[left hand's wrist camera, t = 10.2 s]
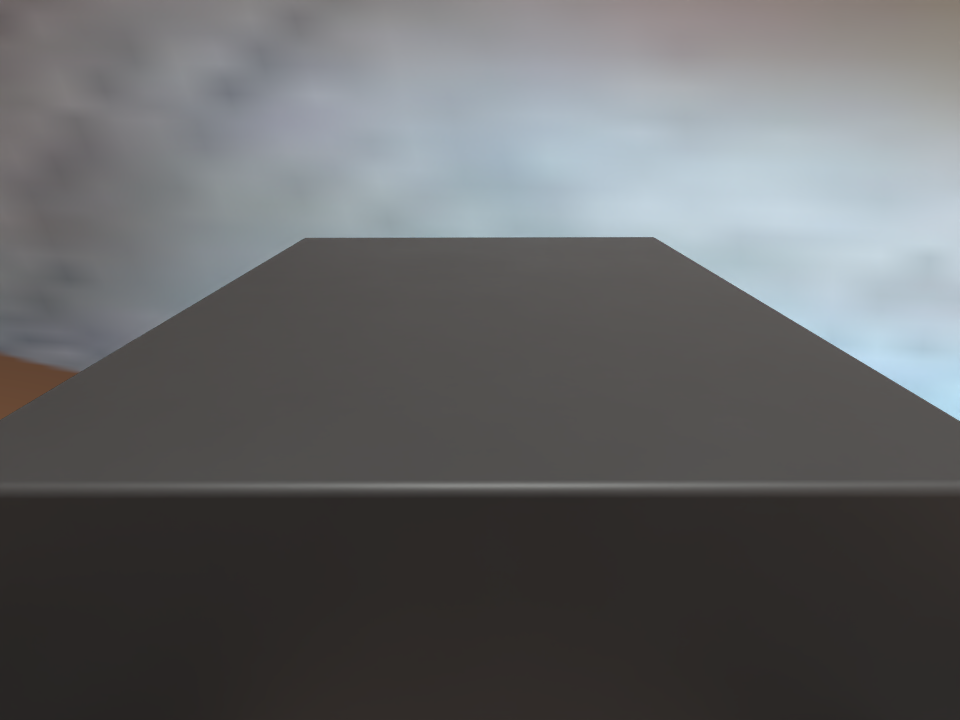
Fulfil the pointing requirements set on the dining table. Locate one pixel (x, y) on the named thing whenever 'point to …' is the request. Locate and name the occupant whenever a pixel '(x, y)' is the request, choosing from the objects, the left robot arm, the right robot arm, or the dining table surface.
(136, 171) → the dining table surface
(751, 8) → the dining table surface
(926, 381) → the dining table surface
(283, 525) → the box
